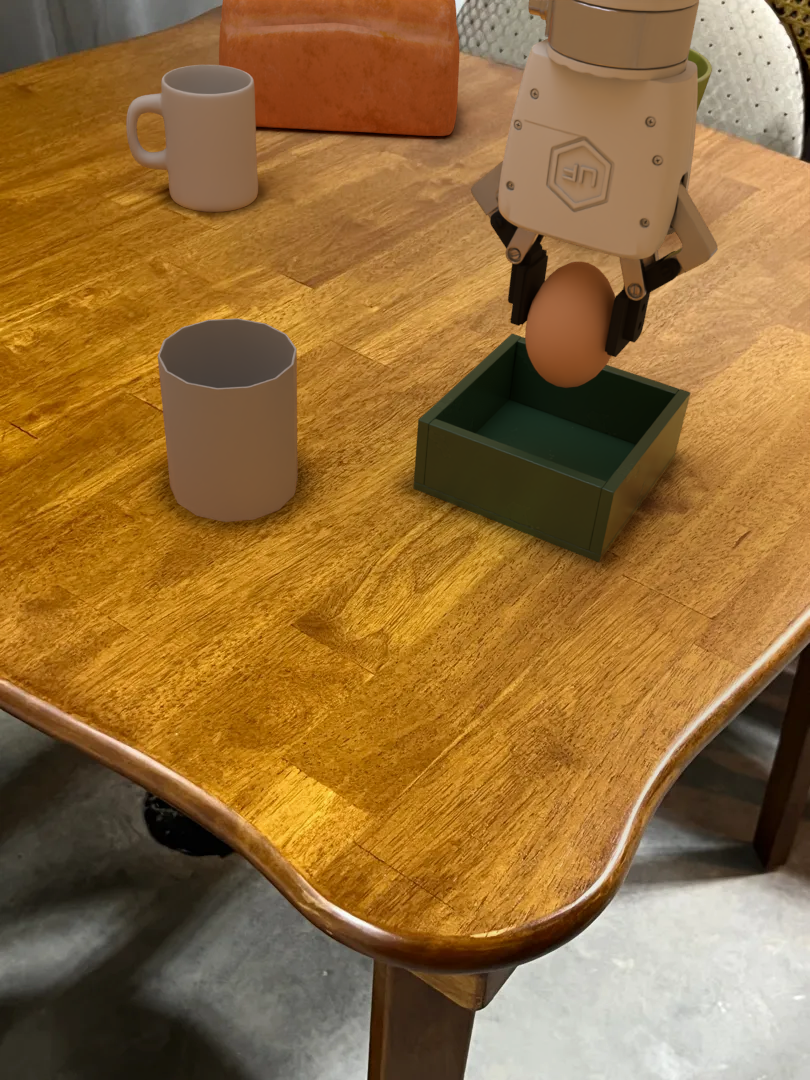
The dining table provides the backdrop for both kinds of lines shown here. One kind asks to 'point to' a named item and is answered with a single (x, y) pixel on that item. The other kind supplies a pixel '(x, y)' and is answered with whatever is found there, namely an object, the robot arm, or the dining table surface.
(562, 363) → the egg
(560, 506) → the dark green open crate
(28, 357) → the dining table surface
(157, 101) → the mug
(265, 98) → the bread
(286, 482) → the cup
